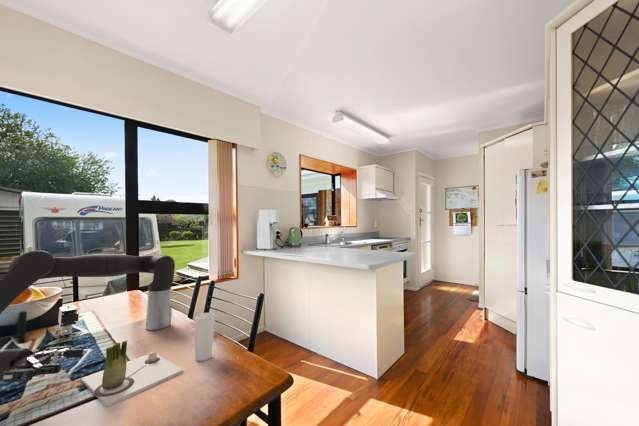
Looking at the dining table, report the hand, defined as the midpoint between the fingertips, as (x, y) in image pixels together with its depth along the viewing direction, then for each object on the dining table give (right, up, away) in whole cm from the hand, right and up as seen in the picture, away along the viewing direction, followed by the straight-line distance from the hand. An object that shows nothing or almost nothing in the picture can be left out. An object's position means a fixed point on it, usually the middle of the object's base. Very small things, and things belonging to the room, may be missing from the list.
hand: (72, 360), depth 72 cm
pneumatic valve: (-39, -11, +39) cm, 56 cm away
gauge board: (+11, -10, +8) cm, 17 cm away
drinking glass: (+28, -11, +20) cm, 36 cm away
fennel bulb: (+11, -9, +1) cm, 14 cm away
